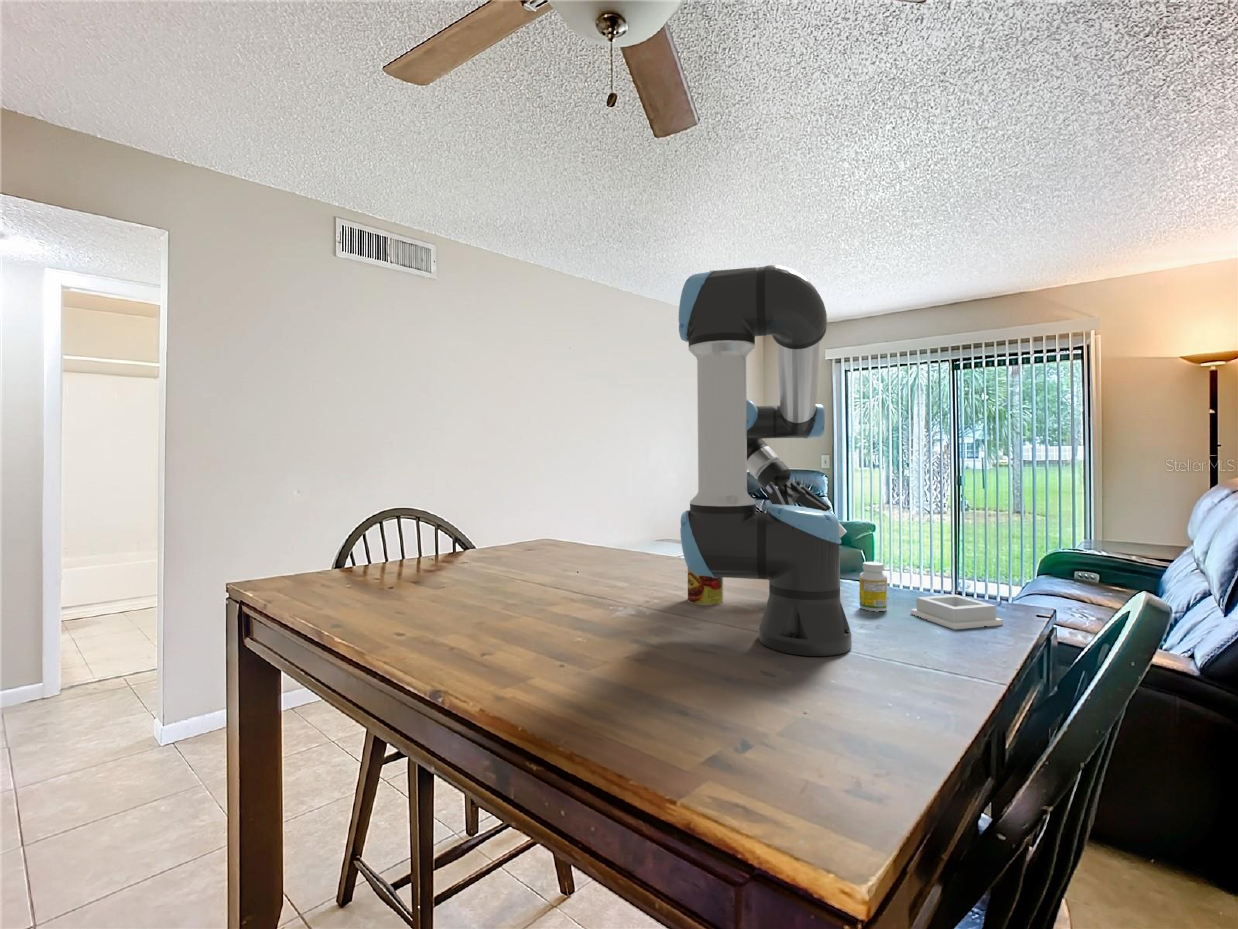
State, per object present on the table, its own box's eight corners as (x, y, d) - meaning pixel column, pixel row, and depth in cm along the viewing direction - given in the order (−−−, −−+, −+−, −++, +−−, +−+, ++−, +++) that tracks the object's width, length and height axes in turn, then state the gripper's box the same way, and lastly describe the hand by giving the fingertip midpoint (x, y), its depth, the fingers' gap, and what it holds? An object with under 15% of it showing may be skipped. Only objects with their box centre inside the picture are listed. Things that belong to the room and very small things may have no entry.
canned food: (682, 598, 133) (682, 545, 133) (714, 595, 134) (714, 544, 134) (695, 606, 125) (695, 550, 125) (729, 604, 127) (729, 549, 127)
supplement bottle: (883, 613, 118) (882, 566, 118) (855, 609, 121) (855, 563, 121) (890, 608, 122) (890, 562, 122) (864, 604, 125) (864, 560, 125)
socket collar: (954, 629, 107) (954, 610, 107) (910, 614, 117) (910, 596, 117) (1002, 625, 109) (1002, 606, 109) (956, 610, 120) (955, 593, 120)
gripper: (785, 479, 150) (842, 543, 140) (729, 482, 133) (788, 555, 122) (804, 458, 146) (864, 522, 136) (749, 459, 129) (812, 533, 118)
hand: (828, 538), depth 129 cm, fingers open, 13 cm apart
